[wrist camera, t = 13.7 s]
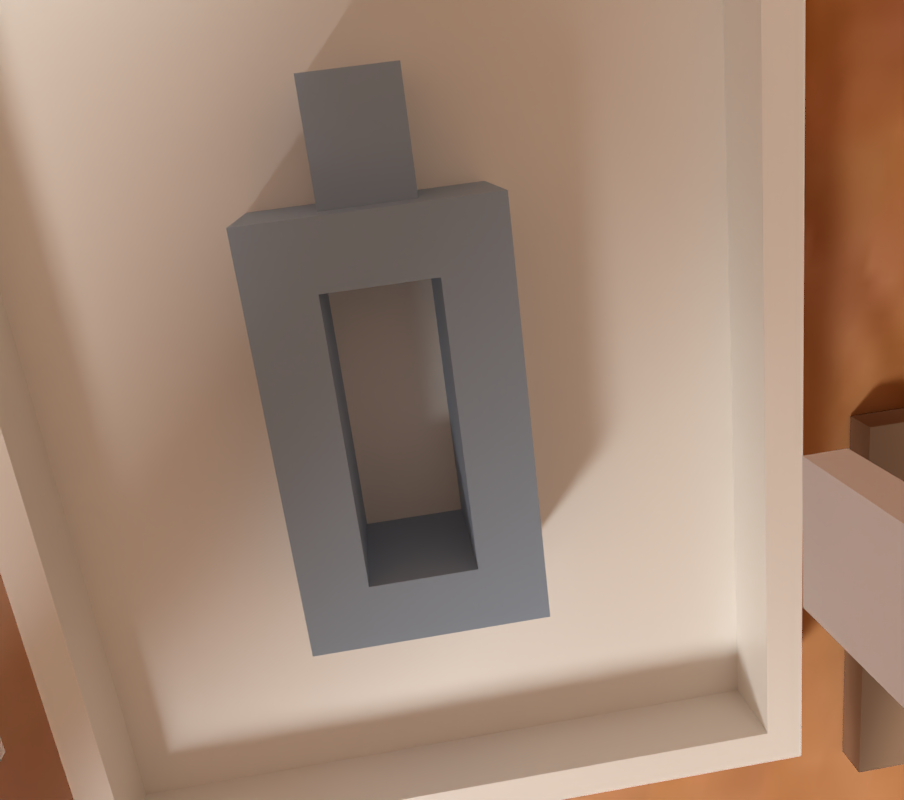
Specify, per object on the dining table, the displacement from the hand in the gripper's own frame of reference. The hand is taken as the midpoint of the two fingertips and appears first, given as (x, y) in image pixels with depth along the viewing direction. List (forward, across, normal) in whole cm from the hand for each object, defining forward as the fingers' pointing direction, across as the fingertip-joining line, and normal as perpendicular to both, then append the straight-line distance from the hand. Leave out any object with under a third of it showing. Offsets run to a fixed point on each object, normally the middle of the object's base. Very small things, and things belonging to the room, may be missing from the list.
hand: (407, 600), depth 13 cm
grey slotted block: (+10, 0, +2) cm, 10 cm away
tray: (+11, 0, 0) cm, 11 cm away
